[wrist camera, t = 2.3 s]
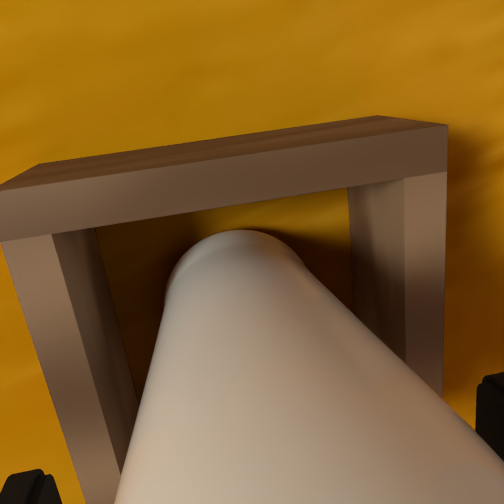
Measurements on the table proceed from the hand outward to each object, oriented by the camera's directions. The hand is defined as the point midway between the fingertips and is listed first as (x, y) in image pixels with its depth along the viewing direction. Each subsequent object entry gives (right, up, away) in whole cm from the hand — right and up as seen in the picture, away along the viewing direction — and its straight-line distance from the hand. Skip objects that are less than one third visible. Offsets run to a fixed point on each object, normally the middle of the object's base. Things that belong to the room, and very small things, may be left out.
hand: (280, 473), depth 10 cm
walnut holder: (-1, +3, +7) cm, 8 cm away
